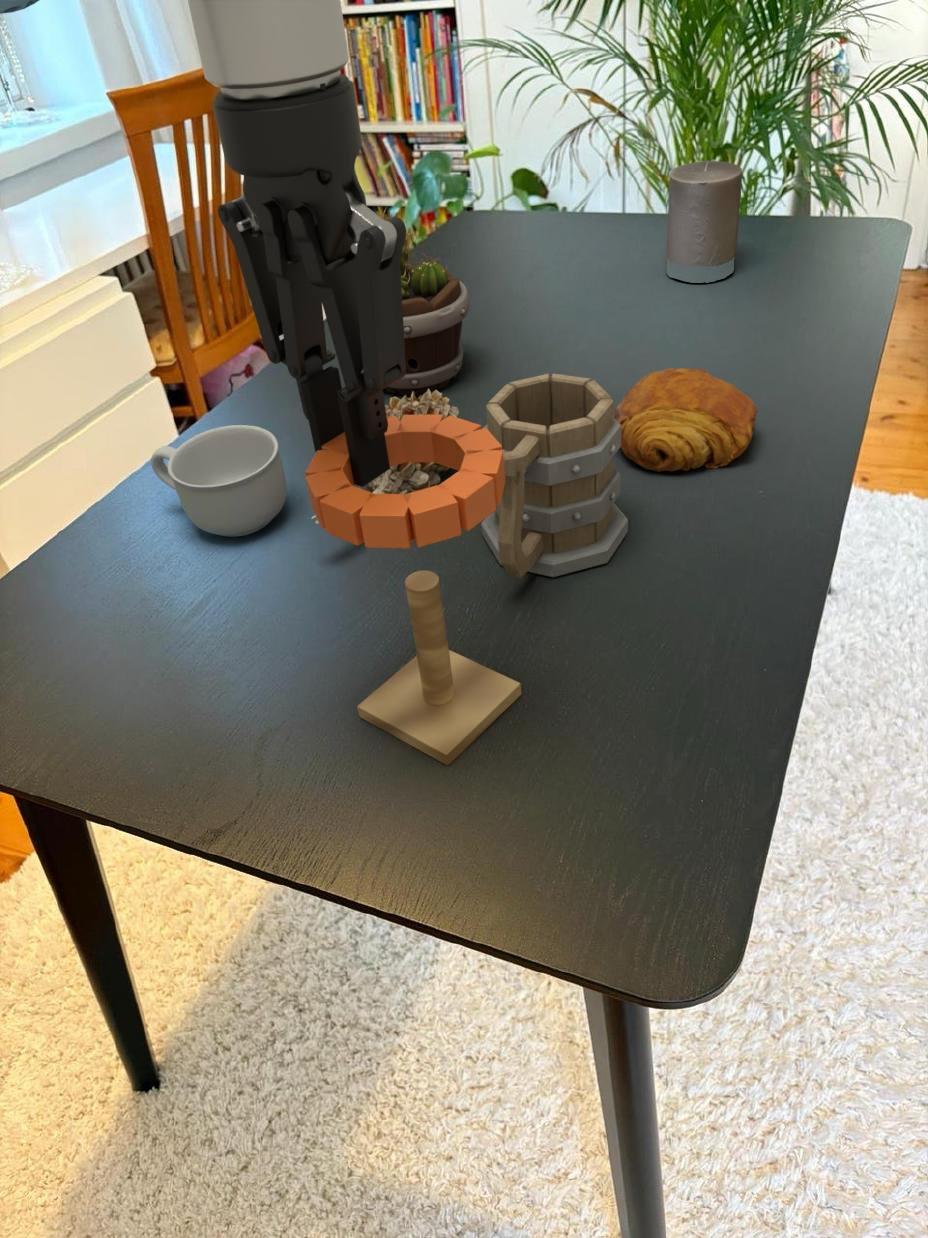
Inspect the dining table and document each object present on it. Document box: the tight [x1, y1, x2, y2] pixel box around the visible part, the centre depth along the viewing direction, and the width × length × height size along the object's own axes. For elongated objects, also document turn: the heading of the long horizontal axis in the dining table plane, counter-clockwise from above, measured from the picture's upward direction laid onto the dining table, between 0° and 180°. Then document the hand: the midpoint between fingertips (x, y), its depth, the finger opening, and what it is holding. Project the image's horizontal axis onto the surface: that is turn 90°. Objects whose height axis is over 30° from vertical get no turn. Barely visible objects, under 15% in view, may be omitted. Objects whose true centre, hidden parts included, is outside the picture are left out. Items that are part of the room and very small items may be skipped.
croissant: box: [613, 367, 759, 473], centre depth 101 cm, size 14×16×8 cm
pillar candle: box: [666, 160, 743, 267], centre depth 135 cm, size 10×10×15 cm
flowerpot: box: [375, 205, 470, 396], centre depth 115 cm, size 14×15×20 cm
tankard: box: [480, 373, 629, 579], centre depth 85 cm, size 20×13×15 cm, turn 152°
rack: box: [356, 570, 522, 766], centre depth 72 cm, size 9×9×12 cm
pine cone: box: [310, 388, 460, 525], centre depth 95 cm, size 22×10×10 cm, turn 155°
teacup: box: [150, 424, 288, 538], centre depth 97 cm, size 14×11×8 cm
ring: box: [304, 415, 506, 549], centre depth 63 cm, size 12×12×2 cm
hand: (354, 469), depth 66 cm, fingers closed on ring, 3 cm apart
